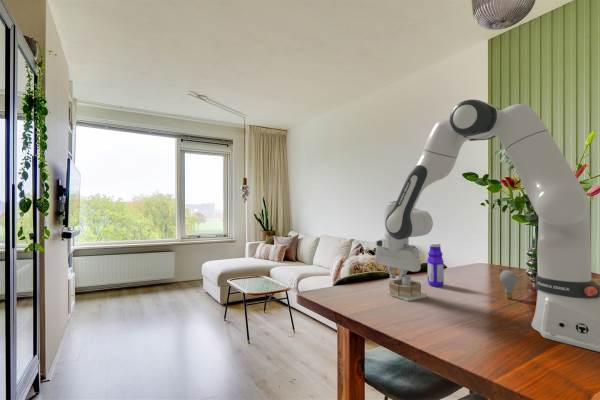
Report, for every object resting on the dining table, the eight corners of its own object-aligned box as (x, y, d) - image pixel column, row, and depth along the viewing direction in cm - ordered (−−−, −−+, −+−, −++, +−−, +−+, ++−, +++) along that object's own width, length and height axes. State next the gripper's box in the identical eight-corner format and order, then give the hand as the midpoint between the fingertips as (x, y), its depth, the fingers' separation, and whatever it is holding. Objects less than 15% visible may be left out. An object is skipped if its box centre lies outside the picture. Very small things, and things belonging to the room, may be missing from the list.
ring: (427, 293, 119) (427, 284, 119) (405, 298, 114) (405, 288, 114) (404, 287, 129) (404, 278, 129) (383, 291, 124) (383, 281, 124)
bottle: (446, 287, 132) (445, 244, 132) (432, 287, 132) (431, 244, 132) (439, 283, 139) (438, 242, 140) (425, 283, 140) (425, 242, 140)
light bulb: (500, 299, 115) (500, 271, 115) (499, 295, 120) (498, 268, 120) (519, 301, 112) (518, 272, 112) (517, 297, 117) (516, 269, 117)
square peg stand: (427, 296, 119) (426, 277, 119) (407, 301, 114) (407, 281, 114) (406, 290, 128) (405, 272, 128) (386, 294, 123) (386, 275, 123)
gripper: (424, 245, 118) (424, 283, 117) (384, 240, 136) (384, 273, 135) (411, 246, 115) (412, 286, 114) (372, 241, 133) (373, 275, 132)
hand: (397, 279), depth 125 cm, fingers open, 3 cm apart
